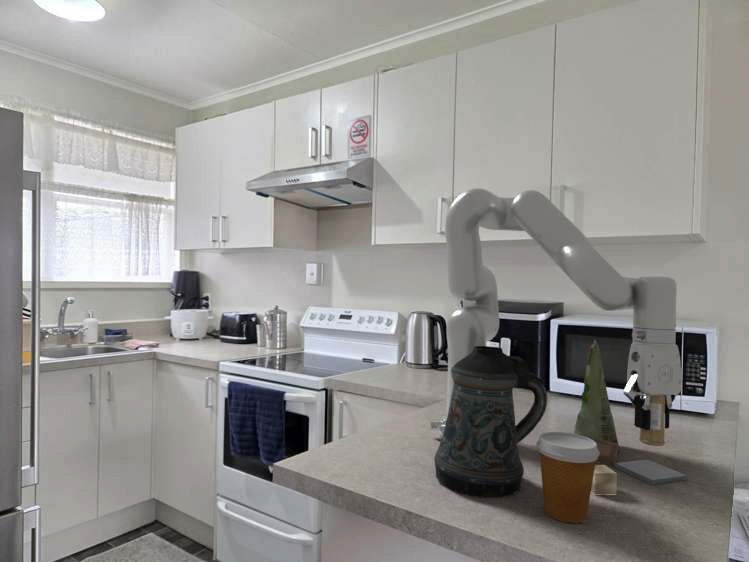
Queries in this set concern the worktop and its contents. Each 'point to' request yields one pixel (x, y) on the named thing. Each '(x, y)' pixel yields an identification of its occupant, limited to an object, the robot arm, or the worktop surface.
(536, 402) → the beer stein
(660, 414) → the sprinkles bottle
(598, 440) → the walnut block
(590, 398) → the miniature christmas tree
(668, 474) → the slate coaster
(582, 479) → the disposable coffee cup
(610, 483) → the beech block
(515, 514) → the worktop surface
